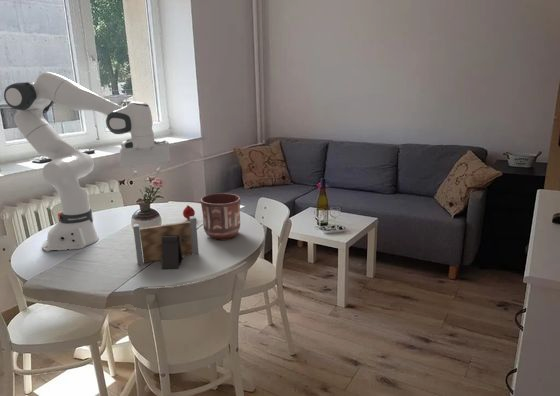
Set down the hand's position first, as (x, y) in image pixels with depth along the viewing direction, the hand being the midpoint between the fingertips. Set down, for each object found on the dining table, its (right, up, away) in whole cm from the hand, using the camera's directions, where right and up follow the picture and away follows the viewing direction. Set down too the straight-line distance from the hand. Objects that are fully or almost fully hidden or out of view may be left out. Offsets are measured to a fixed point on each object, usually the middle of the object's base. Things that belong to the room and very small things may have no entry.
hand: (146, 174), depth 178 cm
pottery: (+30, -27, +16) cm, 44 cm away
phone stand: (+14, -36, -12) cm, 40 cm away
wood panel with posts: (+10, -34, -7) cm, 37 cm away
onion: (+10, -21, +38) cm, 44 cm away
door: (+11, -34, -8) cm, 37 cm away
